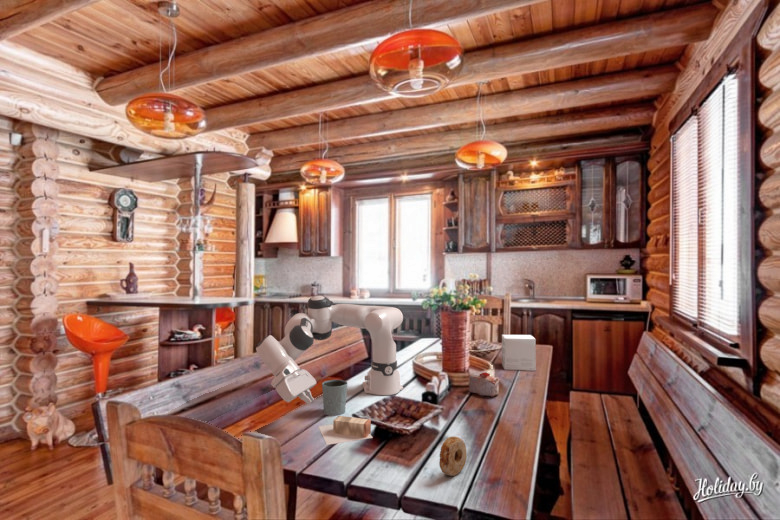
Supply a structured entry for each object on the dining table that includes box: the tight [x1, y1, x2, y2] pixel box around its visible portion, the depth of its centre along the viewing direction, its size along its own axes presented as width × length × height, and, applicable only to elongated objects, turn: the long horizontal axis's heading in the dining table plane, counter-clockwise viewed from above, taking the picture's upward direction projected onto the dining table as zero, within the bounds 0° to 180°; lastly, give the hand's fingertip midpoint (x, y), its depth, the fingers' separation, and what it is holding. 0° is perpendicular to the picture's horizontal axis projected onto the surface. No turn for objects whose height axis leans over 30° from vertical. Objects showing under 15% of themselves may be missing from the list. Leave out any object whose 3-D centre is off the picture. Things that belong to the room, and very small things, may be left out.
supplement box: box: [501, 334, 537, 372], centre depth 236 cm, size 17×13×18 cm
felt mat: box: [317, 423, 373, 446], centre depth 145 cm, size 16×16×1 cm
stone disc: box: [439, 436, 468, 477], centre depth 118 cm, size 10×4×10 cm, turn 136°
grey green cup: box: [321, 379, 348, 417], centre depth 165 cm, size 10×10×12 cm
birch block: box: [333, 415, 372, 437], centre depth 145 cm, size 4×4×12 cm
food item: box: [468, 371, 501, 398], centre depth 189 cm, size 14×8×10 cm, turn 53°
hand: (311, 402), depth 149 cm, fingers closed
